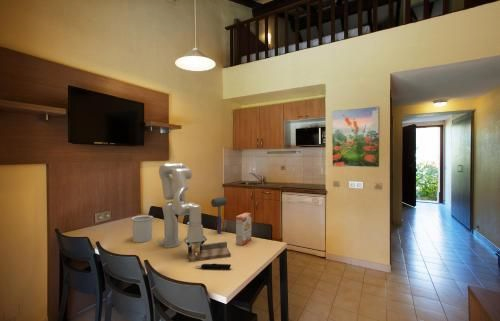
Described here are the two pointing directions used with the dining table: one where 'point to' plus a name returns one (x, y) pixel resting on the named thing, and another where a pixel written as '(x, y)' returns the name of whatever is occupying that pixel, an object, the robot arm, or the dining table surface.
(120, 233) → the dining table surface
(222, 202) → the rubber mallet
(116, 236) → the dining table surface
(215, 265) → the utility knife
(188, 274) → the dining table surface
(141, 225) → the utensil holder
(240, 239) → the cracker box
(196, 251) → the gauge
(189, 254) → the board
